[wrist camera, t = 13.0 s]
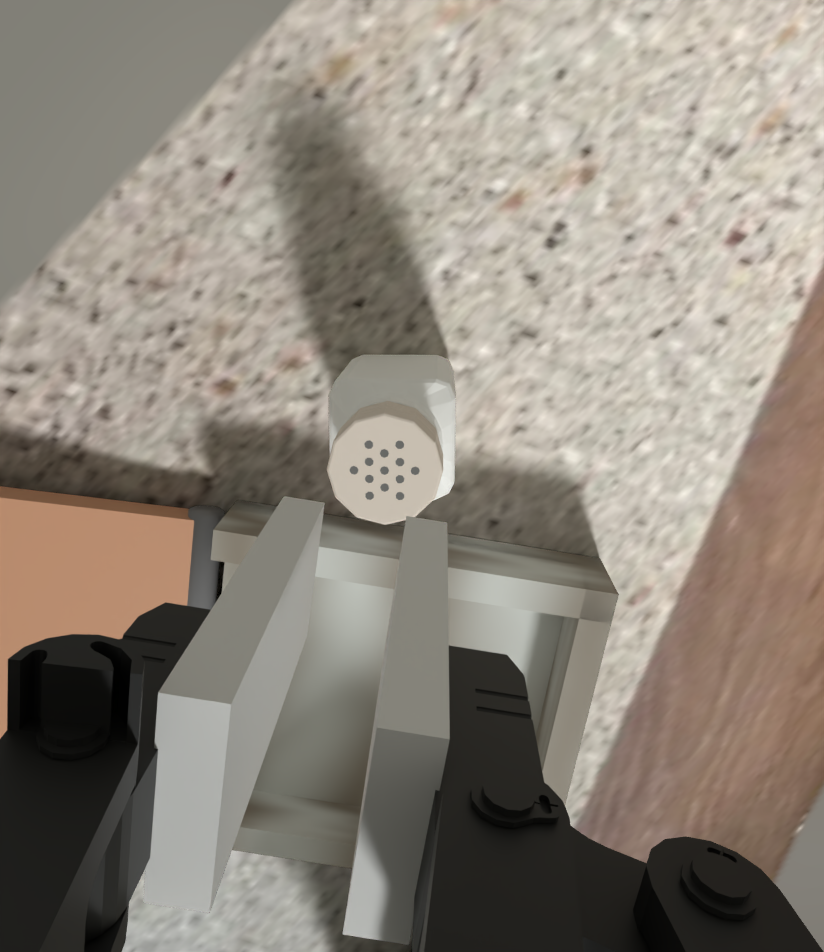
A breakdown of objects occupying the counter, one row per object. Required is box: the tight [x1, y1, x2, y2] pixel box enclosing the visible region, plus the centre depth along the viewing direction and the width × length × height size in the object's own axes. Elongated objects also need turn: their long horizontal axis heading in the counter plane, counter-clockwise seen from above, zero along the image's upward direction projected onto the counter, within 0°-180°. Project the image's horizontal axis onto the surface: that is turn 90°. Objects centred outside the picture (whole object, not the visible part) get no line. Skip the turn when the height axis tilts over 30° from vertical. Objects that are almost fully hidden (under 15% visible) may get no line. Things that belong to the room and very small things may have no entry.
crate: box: [211, 500, 619, 869], centre depth 32 cm, size 15×14×4 cm
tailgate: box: [0, 486, 225, 739], centre depth 32 cm, size 1×13×13 cm
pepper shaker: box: [327, 355, 456, 525], centre depth 26 cm, size 4×4×10 cm
